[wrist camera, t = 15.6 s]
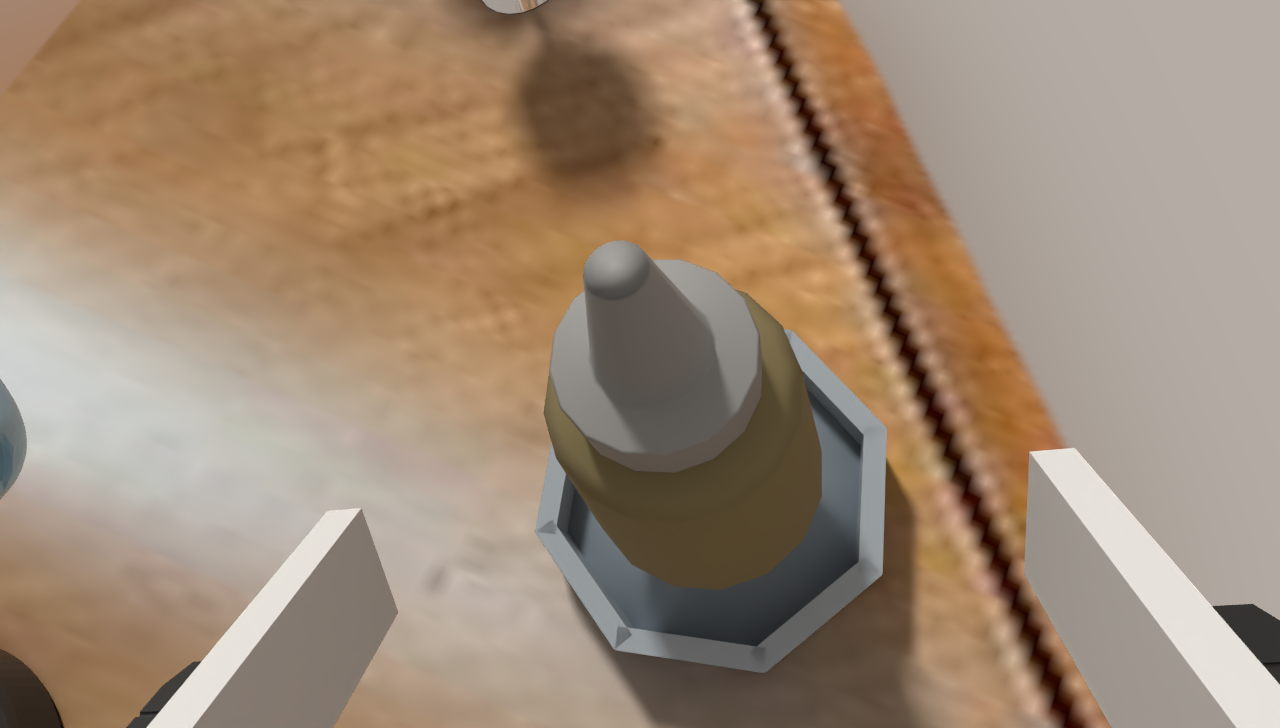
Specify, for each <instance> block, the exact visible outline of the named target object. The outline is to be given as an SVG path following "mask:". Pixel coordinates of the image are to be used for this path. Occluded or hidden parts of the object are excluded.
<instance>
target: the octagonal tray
mask: <svg viewBox="0 0 1280 728" xmlns="http://www.w3.org/2000/svg"><path fill="white" fill-rule="evenodd" d="M784 331H785V333H786V335H787V338H788V340H789V342H790V344H791V347H792V349H793V351H794V354H795V356H796V358H797V360H798V363H799V365H800V367H801V369H802V373H803V377H804V381H805V385H806V389H807V393H808V397H809V401H810V405H811V409H812V413H813V417H814V421H815V425H816V429H817V433H818V437H819V441H820V446H821V450H822V498H821V500H820V503H819V505H818V507H817V509H816V512H815V514H814V516H813V519H812V521H811V523H810V526H809V528H808V530H807V532H806V535H805V537H804V539H803V541H802V542H801V543H800V544H799V545H798V546H797V547H796V548H795V549H793V550H792V551H791V552H790V553H789V554H788V555H787V556H786V557H785V558H784V559H783V560H782V561H780V562H779V563H778V564H777V565H776V566H775V567H774V568H773V569H772V570H771V571H770V572H769V573H768V574H765V575H762V576H759V577H756V578H754V579H751V580H748V581H745V582H742V583H739V584H736V585H734V586H731V587H728V588H725V589H722V590H717V589H704V588H690V587H676V586H672V585H670V584H668V583H666V582H664V581H662V580H660V579H658V578H656V577H654V576H653V575H651V574H649V573H647V572H645V571H643V570H641V569H639V568H637V567H635V566H633V565H631V563H630V562H629V561H628V560H627V558H626V557H625V556H624V555H623V553H622V552H621V551H620V550H619V549H618V547H617V546H616V545H615V544H614V542H613V541H612V540H611V539H610V537H609V536H608V535H607V534H606V533H605V531H604V530H603V529H602V527H601V526H600V524H599V523H598V521H597V520H596V518H595V517H594V515H593V514H592V512H591V511H590V509H589V508H588V506H587V505H586V503H585V502H584V500H583V499H582V497H581V496H580V494H579V493H578V491H577V490H576V488H575V486H574V485H573V483H572V482H571V480H570V479H569V477H568V476H567V474H566V473H565V471H564V470H563V468H562V467H561V465H560V464H559V462H558V461H557V459H556V456H555V452H554V449H553V445H552V443H551V449H550V454H549V459H548V465H547V470H546V476H545V481H544V486H543V492H542V497H541V502H540V508H539V513H538V518H537V524H536V529H535V533H536V534H537V536H538V537H539V539H540V540H541V542H542V543H543V545H544V546H545V548H546V549H547V551H548V552H549V554H550V555H551V557H552V558H553V560H554V561H555V563H556V564H557V566H558V567H559V569H560V570H561V572H562V573H563V575H564V576H565V578H566V579H567V581H568V582H569V583H570V585H571V586H572V588H573V589H574V591H575V592H576V594H577V595H578V597H579V598H580V600H581V601H582V603H583V604H584V606H585V607H586V609H587V610H588V612H589V613H590V615H591V616H592V618H593V619H594V621H595V622H596V624H597V625H598V627H599V628H600V630H601V631H602V633H603V634H604V635H605V637H606V638H607V640H608V641H609V643H610V644H611V646H612V647H613V649H614V650H617V651H624V652H630V653H637V654H643V655H650V656H656V657H663V658H669V659H675V660H682V661H688V662H695V663H701V664H708V665H714V666H721V667H727V668H734V669H740V670H746V671H753V672H759V673H766V672H768V671H769V670H770V669H771V668H772V667H774V666H775V665H776V664H777V663H778V662H780V661H781V660H782V659H783V658H784V657H786V656H787V655H788V654H789V653H790V652H792V651H793V650H794V649H795V648H796V647H798V646H799V645H800V644H801V643H802V642H804V641H805V640H806V639H807V638H808V637H810V636H811V635H812V634H813V633H814V632H816V631H817V630H818V629H819V628H820V627H822V626H823V625H824V624H825V623H826V622H827V621H829V620H830V619H831V618H832V617H833V616H835V615H836V614H837V613H838V612H839V611H841V610H842V609H843V608H844V607H845V606H847V605H848V604H849V603H850V602H851V601H853V600H854V599H855V598H856V597H857V596H859V595H860V594H861V593H862V592H863V591H865V590H866V589H867V588H868V587H869V586H871V585H872V584H873V583H874V582H875V581H876V580H877V579H878V578H879V577H881V576H882V574H883V544H884V510H885V476H886V442H887V428H886V427H885V425H884V424H883V423H882V422H881V421H880V420H879V419H878V418H877V417H876V416H875V415H874V414H873V413H872V412H871V411H870V410H869V409H868V408H867V407H866V406H865V405H864V404H863V403H862V402H861V401H860V400H859V399H858V398H857V397H856V396H855V395H854V394H853V393H852V392H851V391H850V390H849V389H848V388H847V387H846V386H845V384H844V383H843V382H842V381H841V380H840V379H839V378H838V377H837V376H836V375H835V374H834V373H833V372H832V371H831V370H830V369H829V368H828V367H827V366H826V365H825V364H824V363H823V362H822V361H821V360H820V359H819V358H818V357H817V356H816V355H815V354H814V353H813V352H812V351H811V350H810V349H809V348H808V347H807V346H806V345H805V344H804V342H803V341H802V340H801V339H800V338H799V337H798V336H797V335H796V334H795V333H794V332H793V331H792V330H784Z"/></svg>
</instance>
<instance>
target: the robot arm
mask: <svg viewBox="0 0 1280 728" xmlns="http://www.w3.org/2000/svg"><path fill="white" fill-rule="evenodd" d="M26 448H27V438H26V431H25V426H24V423H23V420H22V417H21V414H20V411H19V409H18V407H17V405H16V403H15V401H14V399H13V397H12V396H11V394H10V393H9V391H8V389H7V388H6V386H5V385H4V383H3V382H2V381H1V379H0V499H1V498H2V497H3V496H4V495H5V494H6V492H7V491H8V490H9V489H10V487H11V486H12V485H13V484H14V482H15V480H16V479H17V477H18V475H19V473H20V471H21V469H22V466H23V463H24V460H25V456H26ZM1024 575H1025V576H1026V578H1027V580H1028V582H1029V583H1030V585H1031V587H1032V589H1033V590H1034V592H1035V594H1036V596H1037V598H1038V599H1039V601H1040V603H1041V605H1042V606H1043V608H1044V610H1045V612H1046V613H1047V615H1048V617H1049V619H1050V620H1051V622H1052V624H1053V626H1054V627H1055V629H1056V631H1057V633H1058V634H1059V636H1060V638H1061V640H1062V642H1063V643H1064V645H1065V647H1066V649H1067V650H1068V652H1069V654H1070V656H1071V657H1072V659H1073V661H1074V663H1075V664H1076V666H1077V668H1078V670H1079V671H1080V673H1081V675H1082V677H1083V678H1084V680H1085V682H1086V684H1087V686H1088V687H1089V689H1090V691H1091V693H1092V694H1093V696H1094V698H1095V700H1096V701H1097V703H1098V705H1099V707H1100V708H1101V710H1102V712H1103V714H1104V715H1105V717H1106V719H1107V721H1108V722H1109V724H1110V726H1111V728H1280V620H1278V619H1276V618H1275V617H1273V616H1272V615H1270V614H1268V613H1267V612H1265V611H1263V610H1262V609H1260V608H1258V607H1257V606H1255V605H1253V604H1245V605H1225V606H1211V605H1210V604H1209V602H1208V601H1207V600H1206V599H1205V598H1204V597H1203V596H1202V594H1201V593H1200V592H1199V591H1198V590H1197V589H1196V588H1195V586H1194V585H1193V584H1192V583H1191V582H1190V581H1189V579H1188V578H1187V577H1186V576H1185V575H1184V574H1183V572H1181V570H1180V569H1179V568H1178V567H1177V566H1176V564H1175V563H1174V562H1173V561H1172V560H1171V559H1170V557H1169V556H1168V555H1167V554H1166V553H1165V552H1164V551H1163V550H1162V548H1161V547H1160V546H1159V545H1158V544H1157V543H1156V542H1155V540H1154V539H1153V538H1152V537H1151V536H1150V534H1149V533H1148V532H1147V531H1146V530H1145V529H1144V528H1143V526H1142V525H1141V524H1140V523H1139V522H1138V521H1137V519H1136V518H1135V517H1134V516H1133V515H1132V514H1131V513H1130V511H1129V510H1128V509H1127V508H1126V507H1125V506H1124V504H1123V503H1122V502H1121V501H1120V500H1119V499H1118V498H1117V496H1116V495H1115V494H1114V493H1113V492H1112V491H1111V489H1110V488H1109V487H1108V486H1107V485H1106V484H1105V483H1104V481H1103V480H1102V479H1101V478H1100V477H1099V476H1098V474H1097V473H1096V472H1095V471H1094V470H1093V469H1092V468H1091V466H1090V465H1089V464H1088V463H1087V462H1086V461H1085V460H1084V458H1083V457H1082V456H1081V455H1080V454H1079V453H1078V451H1077V450H1076V449H1075V448H1069V449H1057V450H1045V451H1033V452H1029V475H1028V498H1027V522H1026V545H1025V568H1024ZM397 614H398V610H397V607H396V605H395V602H394V599H393V596H392V593H391V590H390V588H389V585H388V582H387V579H386V576H385V573H384V571H383V568H382V565H381V562H380V559H379V556H378V554H377V551H376V548H375V545H374V542H373V540H372V537H371V534H370V531H369V528H368V525H367V523H366V520H365V517H364V514H363V511H362V508H356V509H344V510H332V511H327V512H326V513H325V515H324V516H323V517H322V518H321V519H320V521H319V522H318V523H317V524H316V525H315V527H314V528H313V529H312V530H311V531H310V533H309V534H308V535H307V536H306V537H305V539H304V540H303V541H302V542H301V543H300V545H299V546H298V547H297V548H296V549H295V551H294V552H293V553H292V554H291V555H290V556H289V558H288V559H287V560H286V561H285V562H284V564H283V565H282V566H281V567H280V568H279V570H278V571H277V572H276V573H275V574H274V576H273V577H272V578H271V579H270V580H269V582H268V583H267V584H266V585H265V586H264V588H263V589H262V590H261V591H260V592H259V594H258V595H257V596H256V597H255V598H254V600H253V601H252V602H251V603H250V604H249V606H248V607H247V608H246V609H245V610H244V612H243V613H242V614H241V615H240V616H239V617H238V619H237V620H236V621H235V622H234V623H233V625H232V626H231V627H230V628H229V629H228V631H227V632H226V633H225V634H224V635H223V637H222V638H221V639H220V640H219V641H218V643H217V644H216V645H215V646H214V647H213V649H212V650H211V651H210V652H209V653H208V655H207V656H206V657H205V658H204V659H203V661H202V662H193V663H191V664H190V665H189V666H187V667H186V668H185V669H184V670H182V671H181V672H180V673H178V674H177V675H176V676H174V677H173V678H172V679H171V680H169V681H168V682H167V683H165V684H164V685H163V686H162V687H161V688H160V689H159V691H158V692H157V693H156V694H155V695H154V696H153V697H152V699H151V700H150V701H149V702H148V703H147V704H146V706H145V707H144V708H143V709H142V710H141V711H140V716H139V717H135V718H134V719H133V721H132V722H131V723H130V724H129V725H128V726H127V728H333V727H334V725H335V724H336V722H337V720H338V718H339V716H340V715H341V713H342V711H343V709H344V708H345V706H346V704H347V702H348V700H349V699H350V697H351V695H352V693H353V692H354V690H355V688H356V686H357V685H358V683H359V681H360V679H361V677H362V676H363V674H364V672H365V670H366V669H367V667H368V665H369V663H370V662H371V660H372V658H373V656H374V654H375V653H376V651H377V649H378V647H379V646H380V644H381V642H382V640H383V638H384V637H385V635H386V633H387V631H388V630H389V628H390V626H391V624H392V623H393V621H394V619H395V617H396V615H397ZM0 728H61V726H60V722H59V718H58V716H57V713H56V710H55V707H54V705H53V703H52V701H51V698H50V696H49V694H48V693H47V691H46V689H45V687H44V686H43V684H42V683H41V682H40V680H39V679H38V677H37V676H36V675H35V674H34V673H33V672H32V671H31V669H30V668H28V667H27V666H26V665H25V664H24V663H23V662H22V661H20V660H19V659H17V658H16V657H15V656H13V655H11V654H9V653H8V652H6V651H4V650H1V649H0Z"/></svg>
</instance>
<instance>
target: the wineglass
mask: <svg viewBox="0 0 1280 728" xmlns="http://www.w3.org/2000/svg"><path fill="white" fill-rule="evenodd" d="M545 1H547V0H483V2H484V3H485V4H486V5H487V7H489V8H491V9H493V10H494V11H496V12H501V13H507V14H512V13H522V12H525V11H528V10H530V9H533V8H536V7H537V6H539V5H540V4H542V3H544V2H545Z"/></svg>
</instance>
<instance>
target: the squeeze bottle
mask: <svg viewBox="0 0 1280 728" xmlns="http://www.w3.org/2000/svg"><path fill="white" fill-rule="evenodd" d="M583 281H584V291H583V292H582V293H581V294H580V295H578V296H577V297H576V298H575V299H574V300H573V301H572V303H571V305H570V307H569V308H568V310H567V312H566V314H565V315H564V317H563V319H562V321H561V322H560V324H559V326H558V328H557V329H556V331H555V333H554V339H553V347H552V354H551V361H550V369H549V378H548V385H547V392H546V400H545V407H544V416H545V420H546V423H547V427H548V431H549V434H550V438H551V441H552V445H553V449H554V452H555V456H556V459H557V461H558V462H559V464H560V465H561V467H562V468H563V470H564V471H565V473H566V474H567V476H568V477H569V479H570V480H571V482H572V483H573V485H574V486H575V488H576V490H577V491H578V493H579V494H580V496H581V497H582V499H583V500H584V502H585V503H586V505H587V506H588V508H589V509H590V511H591V512H592V514H593V515H594V517H595V518H596V520H597V521H598V523H599V524H600V526H601V527H602V529H603V530H604V531H605V533H606V534H607V535H608V536H609V537H610V539H611V540H612V541H613V542H614V544H615V545H616V546H617V547H618V549H619V550H620V551H621V552H622V553H623V555H624V556H625V557H626V558H627V560H628V561H629V562H630V563H631V565H633V566H635V567H637V568H639V569H641V570H643V571H645V572H647V573H649V574H651V575H653V576H654V577H656V578H658V579H660V580H662V581H664V582H666V583H668V584H670V585H672V586H676V587H690V588H704V589H717V590H722V589H725V588H728V587H731V586H734V585H736V584H739V583H742V582H745V581H748V580H751V579H754V578H756V577H759V576H762V575H765V574H768V573H769V572H770V571H771V570H772V569H773V568H774V567H775V566H776V565H777V564H778V563H779V562H780V561H782V560H783V559H784V558H785V557H786V556H787V555H788V554H789V553H790V552H791V551H792V550H793V549H795V548H796V547H797V546H798V545H799V544H800V543H801V542H802V541H803V539H804V537H805V535H806V532H807V530H808V528H809V526H810V523H811V521H812V519H813V516H814V514H815V512H816V509H817V507H818V505H819V503H820V500H821V498H822V450H821V446H820V441H819V437H818V433H817V429H816V425H815V421H814V417H813V413H812V409H811V405H810V401H809V397H808V393H807V389H806V385H805V381H804V377H803V373H802V369H801V367H800V365H799V363H798V360H797V358H796V356H795V354H794V351H793V349H792V347H791V344H790V342H789V340H788V338H787V335H786V333H785V331H784V329H783V326H782V325H781V324H780V323H779V322H778V321H777V320H775V319H774V318H773V317H772V316H771V315H770V314H769V313H768V312H767V311H766V310H765V309H763V308H762V307H761V306H760V305H759V304H758V303H757V302H756V301H755V300H754V299H753V298H751V297H750V296H749V295H748V294H747V293H744V292H742V291H739V290H736V289H734V288H733V287H732V286H731V285H730V284H728V283H727V282H726V281H725V280H724V279H723V278H722V277H721V276H720V275H719V274H718V273H716V272H713V271H710V270H708V269H705V268H702V267H699V266H697V265H694V264H691V263H688V262H686V261H683V260H652V259H651V258H650V257H649V256H648V255H647V254H646V253H645V252H644V251H643V250H642V249H641V248H640V247H639V246H638V245H636V244H633V243H631V242H628V241H612V242H609V243H606V244H604V245H601V246H600V247H599V248H597V249H596V250H595V251H594V252H593V253H591V254H590V256H589V258H588V260H587V261H586V263H585V266H584V274H583Z"/></svg>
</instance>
